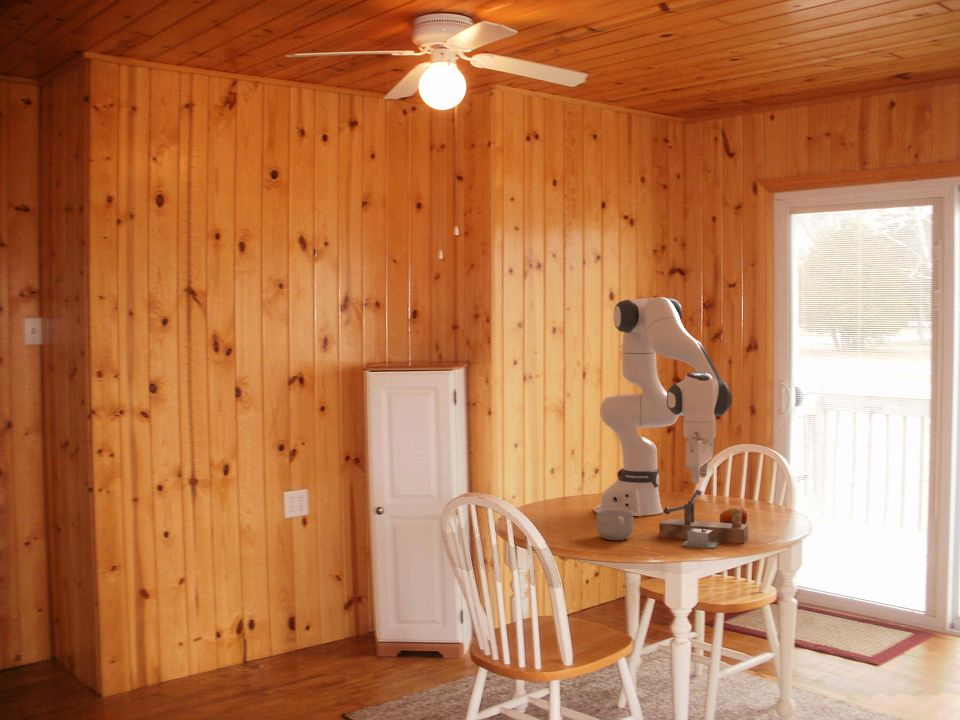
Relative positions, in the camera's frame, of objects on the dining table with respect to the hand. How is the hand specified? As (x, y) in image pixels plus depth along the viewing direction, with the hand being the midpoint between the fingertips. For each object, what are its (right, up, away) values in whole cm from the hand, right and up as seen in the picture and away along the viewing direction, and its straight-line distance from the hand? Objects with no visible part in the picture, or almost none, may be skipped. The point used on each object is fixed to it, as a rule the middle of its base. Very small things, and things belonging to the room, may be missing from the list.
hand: (699, 479), depth 266 cm
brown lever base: (+3, -18, +9) cm, 20 cm away
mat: (0, -18, 0) cm, 18 cm away
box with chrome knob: (0, -18, 0) cm, 18 cm away
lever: (0, -10, +10) cm, 14 cm away
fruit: (+15, -18, +20) cm, 30 cm away
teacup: (-22, -19, +9) cm, 30 cm away
